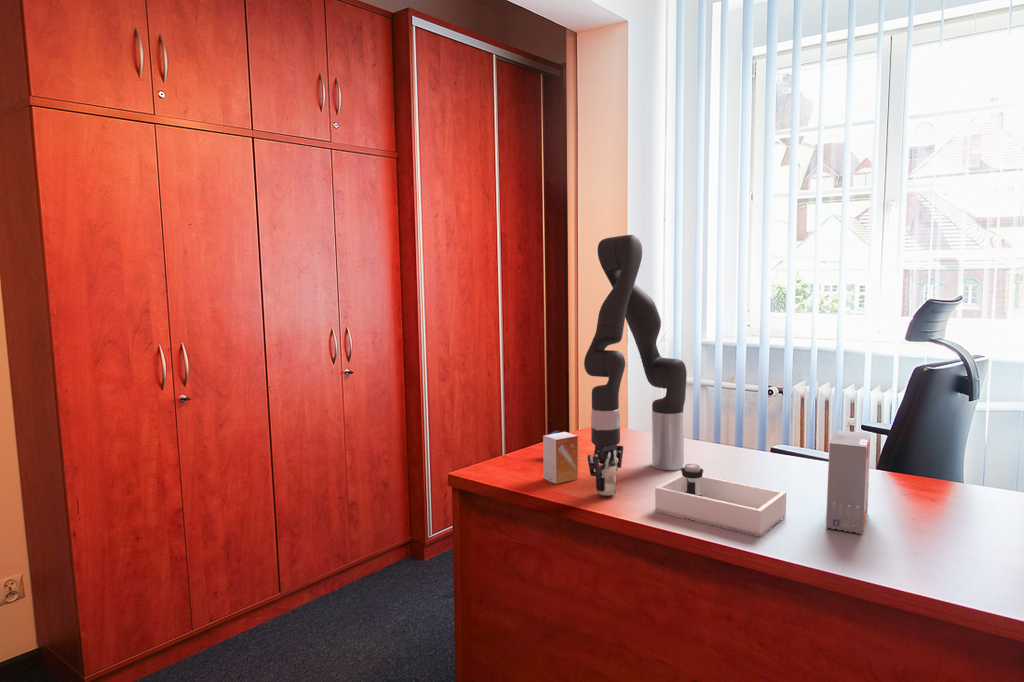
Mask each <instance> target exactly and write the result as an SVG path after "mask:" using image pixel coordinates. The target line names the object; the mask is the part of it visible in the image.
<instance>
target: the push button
mask: <svg viewBox="0 0 1024 682" xmlns="http://www.w3.org/2000/svg"><path fill="white" fill-rule="evenodd" d="M680 471H681V474H682V475H683V476H684V477H685V490H684V492H685V493H688V494H693V495H697V496H702V495H700V493H699V478H701V477H702V476H703V473H704V469H702V468H701V467H700V465H699V464H695V463H687V464H685V465H684V466H683V468H681V469H680ZM702 497H703V496H702Z"/></svg>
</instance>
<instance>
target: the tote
mask: <svg viewBox="0 0 1024 682" xmlns="http://www.w3.org/2000/svg"><path fill="white" fill-rule="evenodd" d="M684 490H685V477H684V476H683V475H682V473H681V474H680V475H678V476H677V477H674V478H672V479H670V480H668V481H665V482H664V483H662V484H660V485H658V486H656V487H655V491H654V492H655V493H654V494H655V495H654V496H655V501H654V502H655V503H654V504H655V512H656V513H660V514H665V515H669V516H673V517H675V518H680V519H684V518H686V519H685V520H688V519H690V520H689V521H692V520H695V521H694V522H696V521H699V522H698V523H700V522H703V523H702V524H704V523H706V524H705V525H708V524H710V525H709V526H712V525H714V526H713V527H716V526H718V527H717V528H720V527H722V528H721V529H724V528H726V529H725V530H728V529H730V530H729V531H732V530H735V531H734V532H736V531H738V533H740V532H742V533H741V534H744V533H745V535H748V534H750V535H749V536H752V535H754V537H756V536H758V537H757V538H761V536H762V535H763V534H764V535H765V534H767V533H768V532H769V531H770V530H771V529H773V528H774V527H775V526H776V525H777V524H776V523H778V522H779V521H780V520H781V519H782V518H784V517H785V516H786V517H787V492H786V491H781V490H776V489H773V488H772V489H771V488H765V487H763V486H762V487H761V486H757V485H751V484H747V483H746V484H745V483H741V482H736V481H731V480H725V479H720V478H716V477H715V478H714V477H710V476H706V475H702V477H701V478H699V493H700V495H702V496H703V497H702V496H697V495H693V494H688V493H685V492H684ZM786 517H785V518H786ZM785 518H784V519H785ZM782 520H783V519H782ZM782 520H781V521H782ZM781 521H780V522H781ZM780 522H779V523H780ZM779 523H778V524H779ZM775 524H776V525H775ZM774 525H775V526H774ZM773 526H774V527H773ZM772 527H773V528H772ZM770 528H771V529H770ZM769 529H770V530H769ZM768 530H769V531H768ZM767 531H768V532H767ZM766 532H767V533H766ZM764 535H763V536H764ZM763 536H762V537H763Z"/></svg>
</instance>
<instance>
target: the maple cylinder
mask: <svg viewBox="0 0 1024 682" xmlns="http://www.w3.org/2000/svg"><path fill="white" fill-rule="evenodd" d="M599 465H602V466H603V465H604V464H600V463H599ZM600 473H601V468H600ZM604 478H605V490H604V491H603V492H601V491H597V490H596V492H597V495H600V496H614V495H616V493H617V472H616V466H613V465H610V464H608V468H607V469H606V470H605V475H604Z"/></svg>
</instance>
